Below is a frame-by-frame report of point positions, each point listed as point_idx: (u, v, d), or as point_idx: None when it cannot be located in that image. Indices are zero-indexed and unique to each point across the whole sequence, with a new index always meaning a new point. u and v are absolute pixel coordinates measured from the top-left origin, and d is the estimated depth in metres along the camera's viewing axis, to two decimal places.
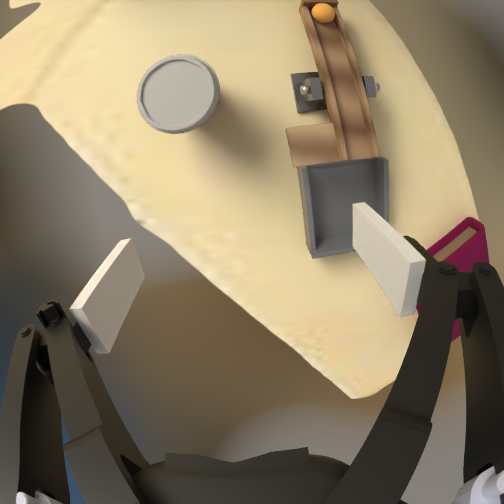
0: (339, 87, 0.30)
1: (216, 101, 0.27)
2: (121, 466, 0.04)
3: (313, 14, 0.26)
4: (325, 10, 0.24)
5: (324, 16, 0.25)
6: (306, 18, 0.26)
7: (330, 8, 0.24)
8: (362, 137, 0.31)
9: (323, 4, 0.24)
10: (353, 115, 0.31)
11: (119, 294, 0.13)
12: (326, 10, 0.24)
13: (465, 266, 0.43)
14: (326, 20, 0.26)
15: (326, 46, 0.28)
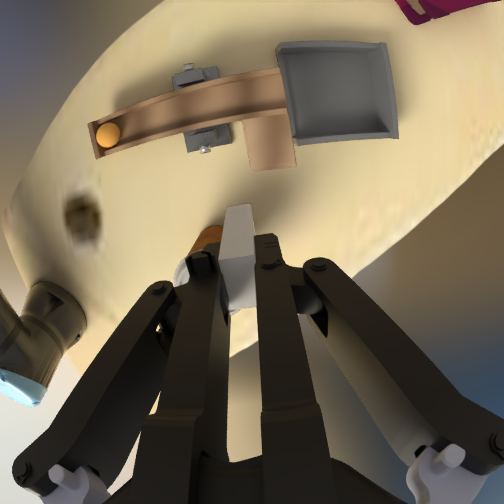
0: (196, 111, 0.28)
1: None
2: (194, 468, 0.04)
3: (112, 145, 0.30)
4: (104, 137, 0.28)
5: (112, 135, 0.28)
6: (119, 150, 0.30)
7: (100, 131, 0.27)
8: (256, 84, 0.25)
9: (97, 139, 0.28)
10: (228, 95, 0.26)
11: None
12: (104, 136, 0.28)
13: None
14: (116, 132, 0.28)
15: (148, 126, 0.29)
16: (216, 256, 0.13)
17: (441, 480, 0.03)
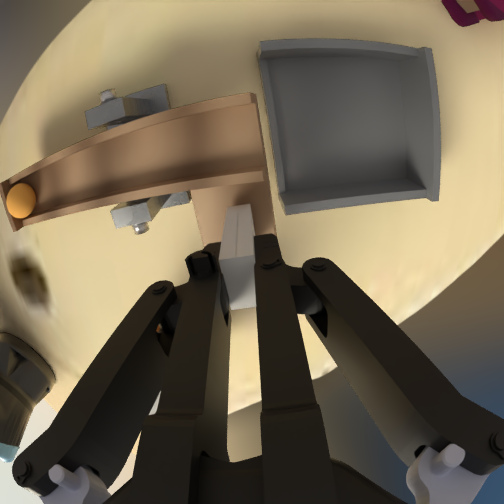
0: (121, 169, 0.17)
1: None
2: (194, 468, 0.04)
3: (27, 215, 0.19)
4: (13, 207, 0.17)
5: (22, 205, 0.17)
6: (36, 221, 0.20)
7: (8, 199, 0.17)
8: (210, 122, 0.15)
9: None
10: (166, 143, 0.16)
11: None
12: (12, 206, 0.17)
13: None
14: (27, 199, 0.18)
15: (64, 189, 0.19)
16: (216, 256, 0.13)
17: (441, 480, 0.03)
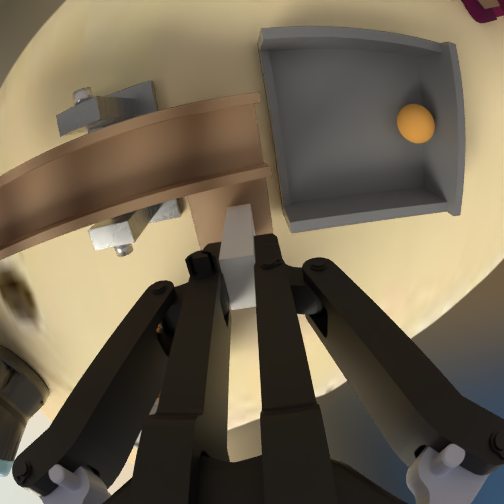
0: (101, 181, 0.14)
1: None
2: (194, 468, 0.04)
3: (414, 142, 0.17)
4: (397, 124, 0.18)
5: (403, 127, 0.17)
6: None
7: None
8: (210, 122, 0.15)
9: None
10: (160, 145, 0.15)
11: None
12: (397, 122, 0.18)
13: None
14: (408, 125, 0.16)
15: (22, 216, 0.13)
16: (216, 256, 0.13)
17: (441, 480, 0.03)
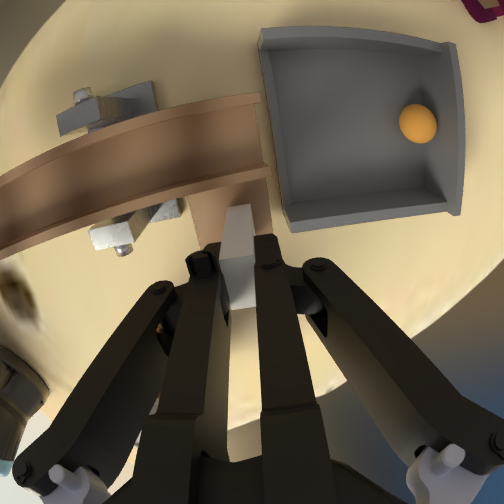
0: (101, 181, 0.14)
1: None
2: (194, 468, 0.04)
3: (417, 142, 0.17)
4: (399, 124, 0.17)
5: (406, 128, 0.17)
6: None
7: (400, 114, 0.17)
8: (210, 122, 0.15)
9: None
10: (160, 145, 0.15)
11: None
12: (399, 122, 0.17)
13: None
14: (412, 125, 0.16)
15: (22, 216, 0.13)
16: (216, 256, 0.13)
17: (441, 480, 0.03)
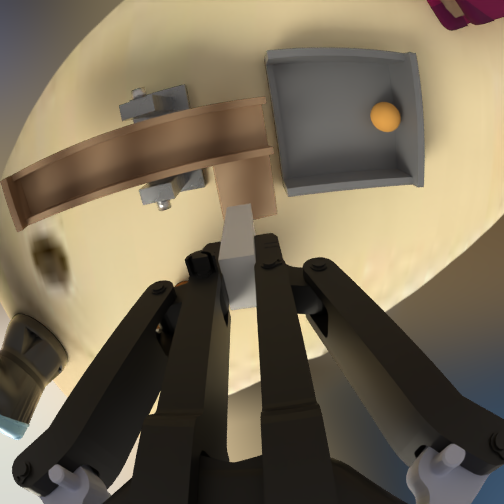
0: (152, 154, 0.21)
1: None
2: (194, 468, 0.04)
3: (384, 131, 0.24)
4: (371, 118, 0.24)
5: (374, 120, 0.23)
6: None
7: None
8: (231, 116, 0.21)
9: None
10: (196, 131, 0.21)
11: None
12: (370, 116, 0.24)
13: None
14: (377, 118, 0.22)
15: (84, 178, 0.20)
16: (216, 256, 0.13)
17: (441, 480, 0.03)
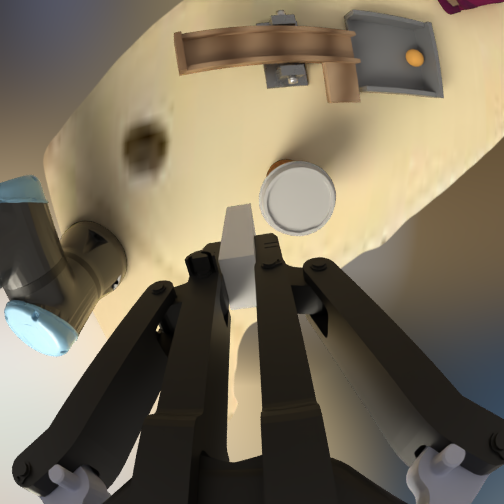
0: (290, 47, 0.28)
1: (312, 165, 0.31)
2: (194, 468, 0.04)
3: (414, 65, 0.31)
4: (406, 58, 0.31)
5: (408, 58, 0.30)
6: (206, 67, 0.26)
7: None
8: (335, 39, 0.28)
9: None
10: (316, 42, 0.28)
11: None
12: None
13: None
14: (409, 56, 0.30)
15: (240, 51, 0.27)
16: (216, 256, 0.13)
17: (441, 480, 0.03)
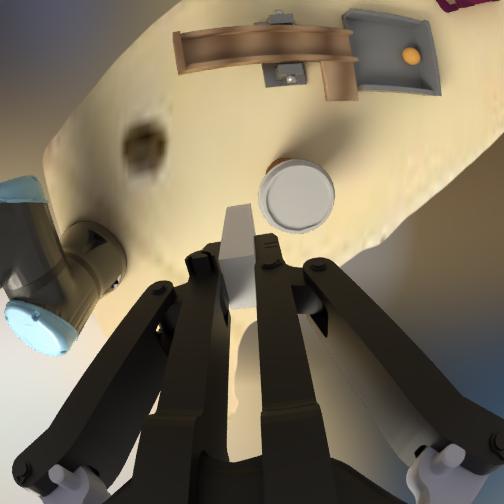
0: (288, 46, 0.28)
1: (311, 163, 0.31)
2: (194, 468, 0.04)
3: (411, 64, 0.31)
4: (403, 56, 0.31)
5: (404, 57, 0.31)
6: (205, 67, 0.26)
7: None
8: (332, 38, 0.28)
9: None
10: (314, 41, 0.28)
11: None
12: None
13: None
14: (405, 55, 0.30)
15: (238, 50, 0.27)
16: (216, 256, 0.13)
17: (441, 480, 0.03)
